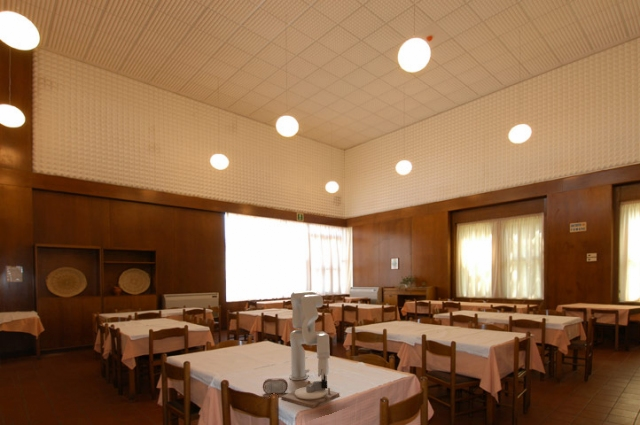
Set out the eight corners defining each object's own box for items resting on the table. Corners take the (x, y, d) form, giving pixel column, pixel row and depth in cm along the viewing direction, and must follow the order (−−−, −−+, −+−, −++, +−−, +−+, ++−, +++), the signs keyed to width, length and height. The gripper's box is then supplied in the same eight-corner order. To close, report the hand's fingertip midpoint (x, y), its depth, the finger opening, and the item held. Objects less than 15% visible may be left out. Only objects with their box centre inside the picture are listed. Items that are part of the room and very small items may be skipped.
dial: (299, 401, 210) (299, 388, 211) (291, 391, 227) (291, 379, 228) (330, 397, 216) (329, 385, 216) (320, 387, 233) (320, 376, 233)
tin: (287, 392, 231) (287, 377, 232) (287, 394, 228) (287, 379, 229) (263, 393, 231) (263, 378, 232) (262, 394, 227) (262, 380, 229)
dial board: (308, 388, 238) (308, 378, 239) (339, 395, 223) (339, 385, 224) (281, 399, 219) (281, 388, 220) (313, 408, 204) (312, 396, 205)
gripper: (319, 352, 232) (320, 384, 229) (314, 358, 217) (315, 392, 214) (331, 352, 231) (332, 384, 228) (327, 358, 216) (328, 392, 213)
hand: (324, 388), depth 221 cm, fingers closed
